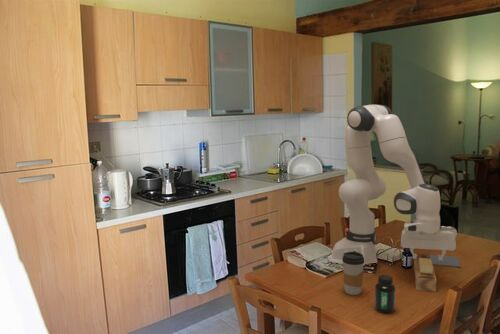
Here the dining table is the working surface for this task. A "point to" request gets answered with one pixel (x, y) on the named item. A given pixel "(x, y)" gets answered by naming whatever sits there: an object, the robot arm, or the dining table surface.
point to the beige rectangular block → (425, 267)
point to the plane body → (424, 278)
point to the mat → (445, 261)
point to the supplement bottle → (385, 294)
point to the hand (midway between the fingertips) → (427, 259)
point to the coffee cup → (353, 272)
